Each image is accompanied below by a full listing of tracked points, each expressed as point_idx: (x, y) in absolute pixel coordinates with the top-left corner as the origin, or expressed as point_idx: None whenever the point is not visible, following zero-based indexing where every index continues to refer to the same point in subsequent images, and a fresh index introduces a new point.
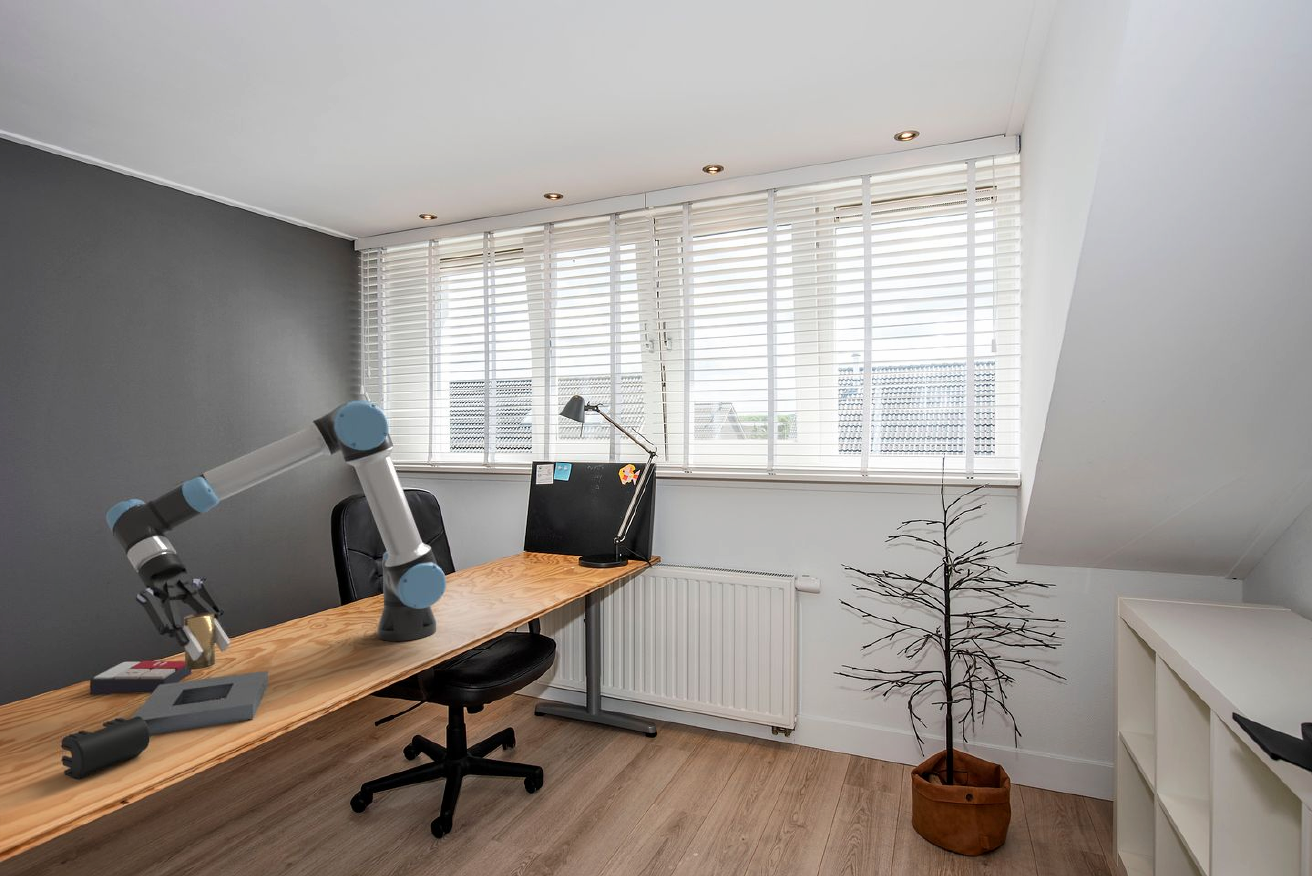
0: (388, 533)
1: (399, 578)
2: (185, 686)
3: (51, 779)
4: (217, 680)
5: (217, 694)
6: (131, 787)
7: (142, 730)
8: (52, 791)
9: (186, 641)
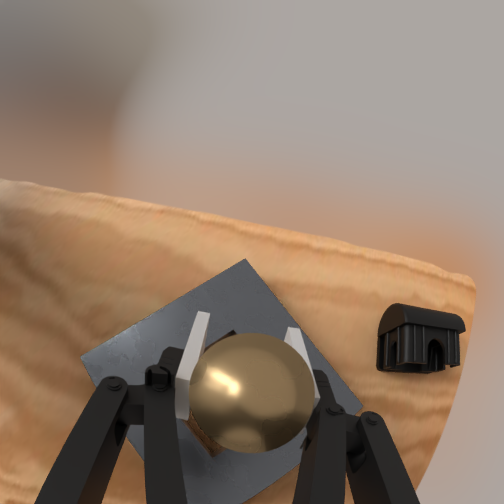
0: None
1: None
2: (194, 470)
3: (438, 372)
4: None
5: None
6: (415, 268)
7: (404, 304)
8: None
9: (315, 370)
